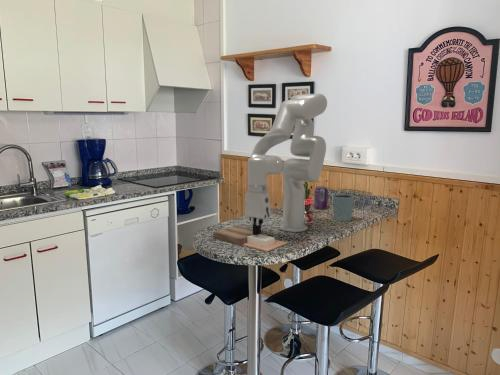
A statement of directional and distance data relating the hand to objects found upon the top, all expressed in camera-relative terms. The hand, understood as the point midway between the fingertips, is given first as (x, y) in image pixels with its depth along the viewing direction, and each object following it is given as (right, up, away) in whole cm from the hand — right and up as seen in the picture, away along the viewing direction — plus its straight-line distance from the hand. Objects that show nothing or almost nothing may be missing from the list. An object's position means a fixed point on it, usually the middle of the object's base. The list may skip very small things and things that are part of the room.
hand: (256, 234), depth 156 cm
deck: (-8, -2, +7) cm, 11 cm away
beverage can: (+37, +7, +63) cm, 73 cm away
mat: (+3, -4, -1) cm, 5 cm away
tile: (+2, -3, -1) cm, 4 cm away
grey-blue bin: (+43, +3, +38) cm, 58 cm away
